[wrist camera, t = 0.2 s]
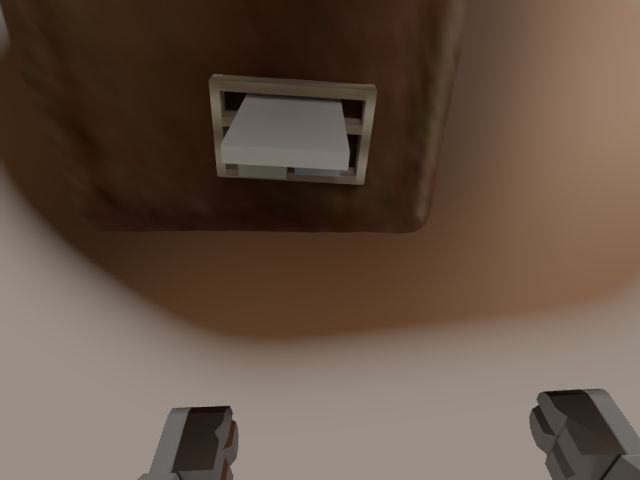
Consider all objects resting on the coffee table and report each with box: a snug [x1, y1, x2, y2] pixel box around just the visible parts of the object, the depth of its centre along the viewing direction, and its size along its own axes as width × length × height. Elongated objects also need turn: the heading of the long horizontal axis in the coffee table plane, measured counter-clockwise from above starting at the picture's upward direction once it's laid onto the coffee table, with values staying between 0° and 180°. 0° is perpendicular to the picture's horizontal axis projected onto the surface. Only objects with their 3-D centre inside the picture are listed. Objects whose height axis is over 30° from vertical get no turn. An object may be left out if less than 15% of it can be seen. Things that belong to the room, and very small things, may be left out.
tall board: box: [221, 93, 350, 170], centre depth 44 cm, size 2×12×18 cm, turn 86°
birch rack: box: [209, 74, 377, 185], centre depth 53 cm, size 13×20×3 cm, turn 86°
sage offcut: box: [238, 164, 288, 179], centre depth 52 cm, size 4×6×7 cm, turn 86°
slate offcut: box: [295, 167, 341, 177], centre depth 53 cm, size 4×6×6 cm, turn 86°
